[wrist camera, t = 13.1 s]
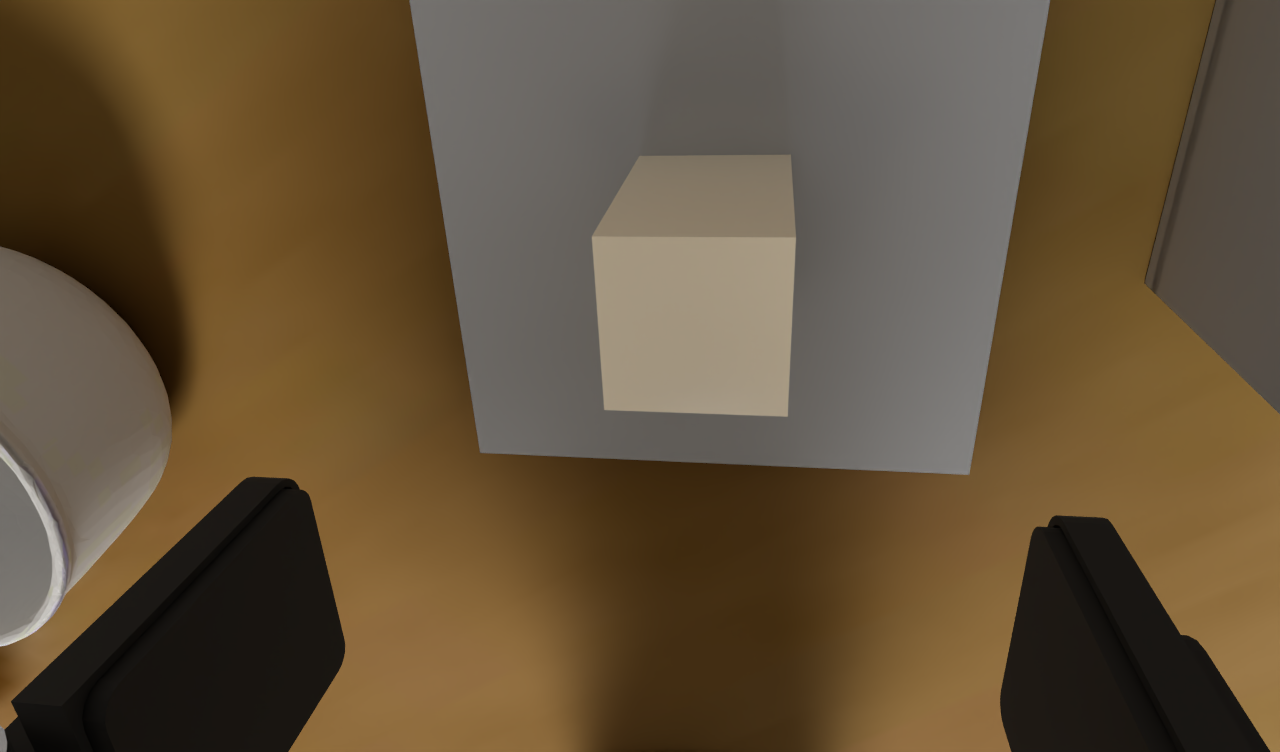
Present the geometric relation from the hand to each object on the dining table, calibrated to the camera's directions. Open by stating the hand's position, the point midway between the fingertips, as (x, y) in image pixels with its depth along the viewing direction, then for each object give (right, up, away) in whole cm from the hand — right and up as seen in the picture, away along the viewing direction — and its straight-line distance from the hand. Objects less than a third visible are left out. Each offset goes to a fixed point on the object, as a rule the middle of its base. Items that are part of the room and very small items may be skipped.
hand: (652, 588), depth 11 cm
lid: (+2, +7, +12) cm, 14 cm away
